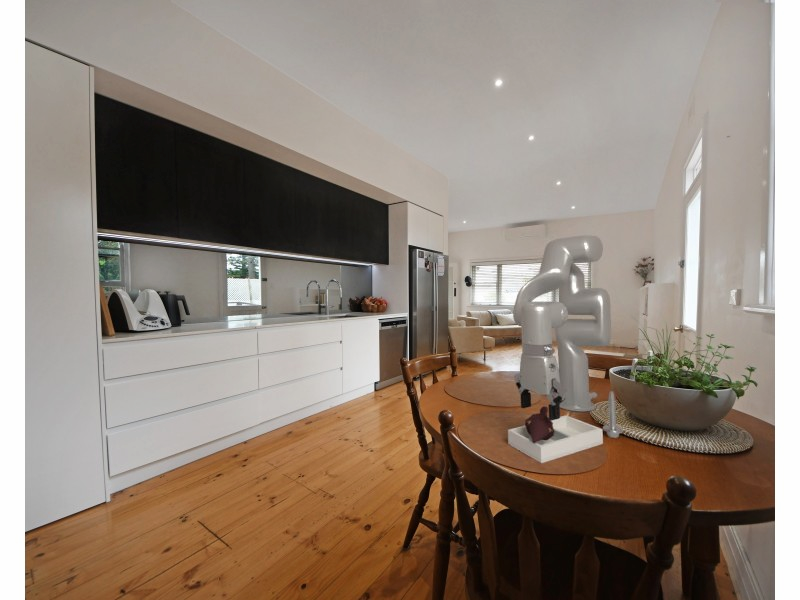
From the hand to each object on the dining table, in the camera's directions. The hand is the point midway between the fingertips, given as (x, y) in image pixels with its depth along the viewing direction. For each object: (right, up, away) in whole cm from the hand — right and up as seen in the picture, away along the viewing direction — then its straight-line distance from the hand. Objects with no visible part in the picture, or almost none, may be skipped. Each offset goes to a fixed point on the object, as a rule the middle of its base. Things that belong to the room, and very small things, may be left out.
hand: (539, 412), depth 87 cm
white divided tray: (+5, -9, +2) cm, 11 cm away
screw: (+23, -9, +5) cm, 25 cm away
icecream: (0, -7, 0) cm, 7 cm away
